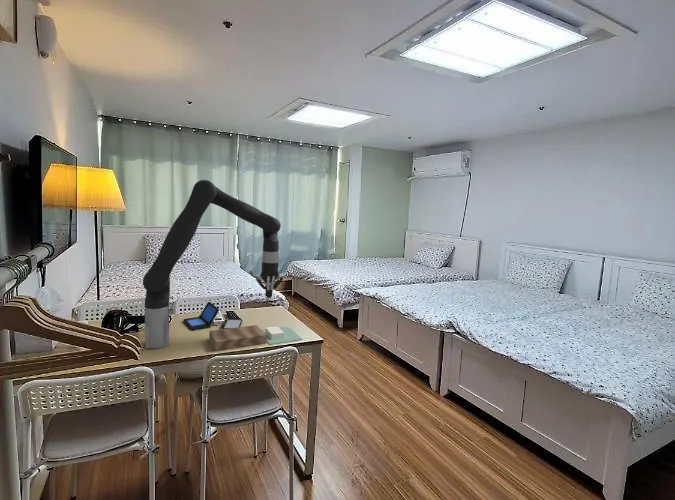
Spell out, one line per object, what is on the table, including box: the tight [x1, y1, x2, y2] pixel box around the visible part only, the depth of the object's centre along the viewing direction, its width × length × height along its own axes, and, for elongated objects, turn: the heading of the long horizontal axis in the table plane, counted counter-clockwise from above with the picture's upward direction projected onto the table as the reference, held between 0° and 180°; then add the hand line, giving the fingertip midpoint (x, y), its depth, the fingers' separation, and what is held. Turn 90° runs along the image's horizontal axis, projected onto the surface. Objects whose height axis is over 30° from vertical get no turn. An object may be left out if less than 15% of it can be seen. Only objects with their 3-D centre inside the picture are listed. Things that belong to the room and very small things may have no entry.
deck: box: [208, 324, 267, 352], centre depth 165 cm, size 22×14×4 cm, turn 120°
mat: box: [261, 326, 304, 346], centre depth 175 cm, size 16×18×1 cm
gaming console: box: [220, 317, 244, 330], centre depth 183 cm, size 19×9×2 cm, turn 8°
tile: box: [264, 326, 284, 340], centre depth 174 cm, size 6×9×3 cm, turn 30°
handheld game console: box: [182, 301, 220, 331], centre depth 184 cm, size 16×13×9 cm
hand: (268, 297), depth 170 cm, fingers closed
